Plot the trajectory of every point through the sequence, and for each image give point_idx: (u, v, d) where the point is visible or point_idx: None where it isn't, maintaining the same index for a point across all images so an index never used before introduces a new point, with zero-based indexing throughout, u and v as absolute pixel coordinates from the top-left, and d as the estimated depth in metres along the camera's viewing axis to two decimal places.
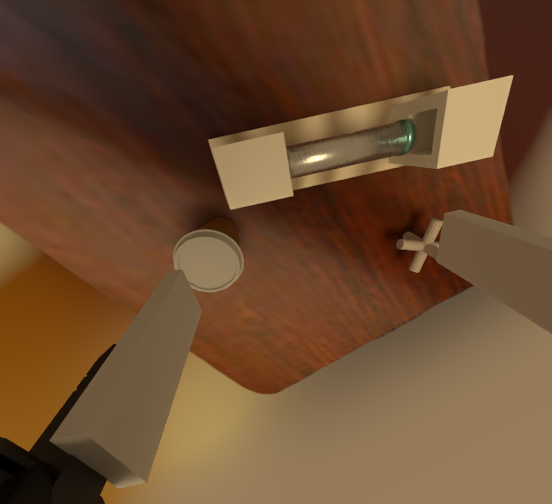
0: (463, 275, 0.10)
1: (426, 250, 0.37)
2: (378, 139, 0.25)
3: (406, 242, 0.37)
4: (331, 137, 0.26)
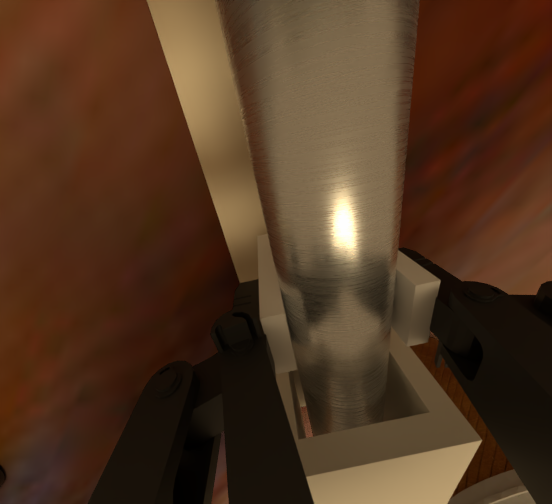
0: None
1: None
2: (312, 8, 0.03)
3: None
4: (279, 272, 0.07)
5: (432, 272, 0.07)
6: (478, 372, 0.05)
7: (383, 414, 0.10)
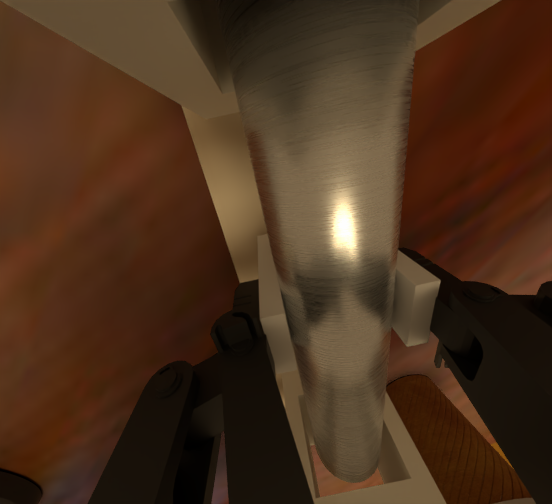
0: None
1: None
2: (311, 8, 0.03)
3: None
4: (279, 272, 0.07)
5: (432, 272, 0.07)
6: (478, 372, 0.05)
7: (383, 414, 0.10)
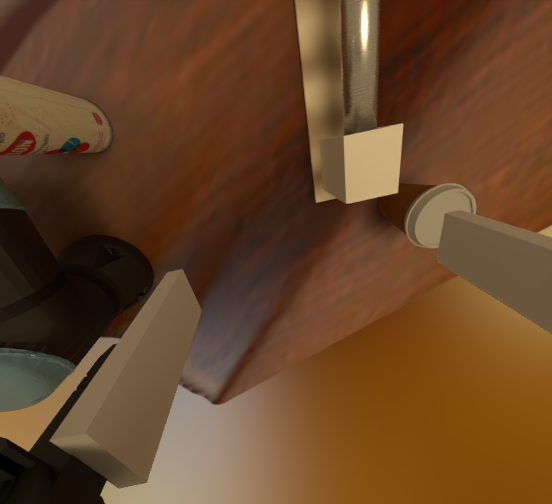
0: (463, 275, 0.10)
1: None
2: None
3: None
4: None
5: None
6: None
7: (377, 89, 0.24)
